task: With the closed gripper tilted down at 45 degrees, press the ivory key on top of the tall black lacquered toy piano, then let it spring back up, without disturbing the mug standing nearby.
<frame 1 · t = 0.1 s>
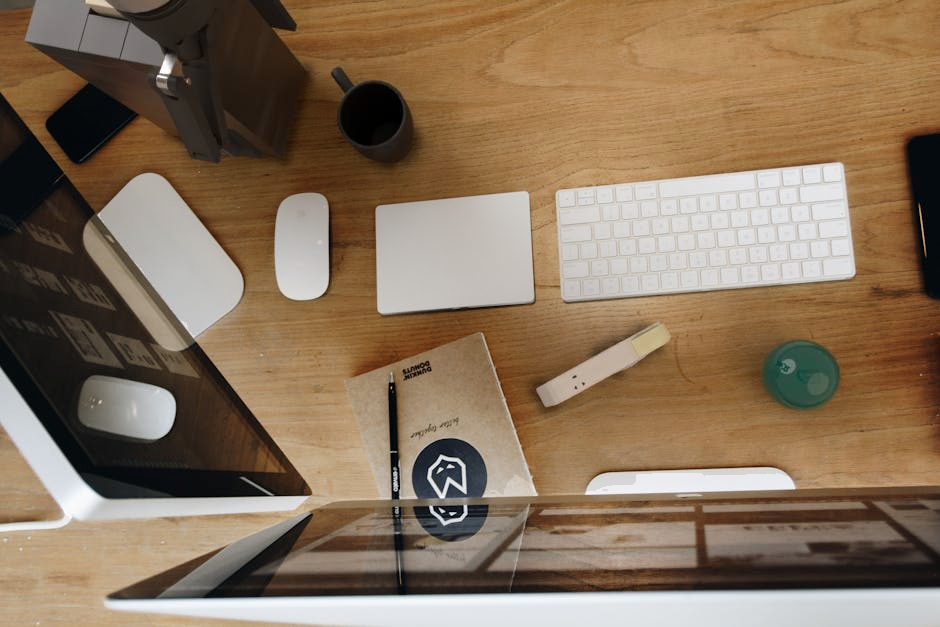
hand: (267, 89, 71), 19 cm above the table, tool pointing down, fingers open, 13 cm apart
piano: (238, 102, 92), on the table
mug: (382, 131, 89), on the table
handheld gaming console: (599, 367, 83), on the table
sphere: (787, 375, 81), on the table
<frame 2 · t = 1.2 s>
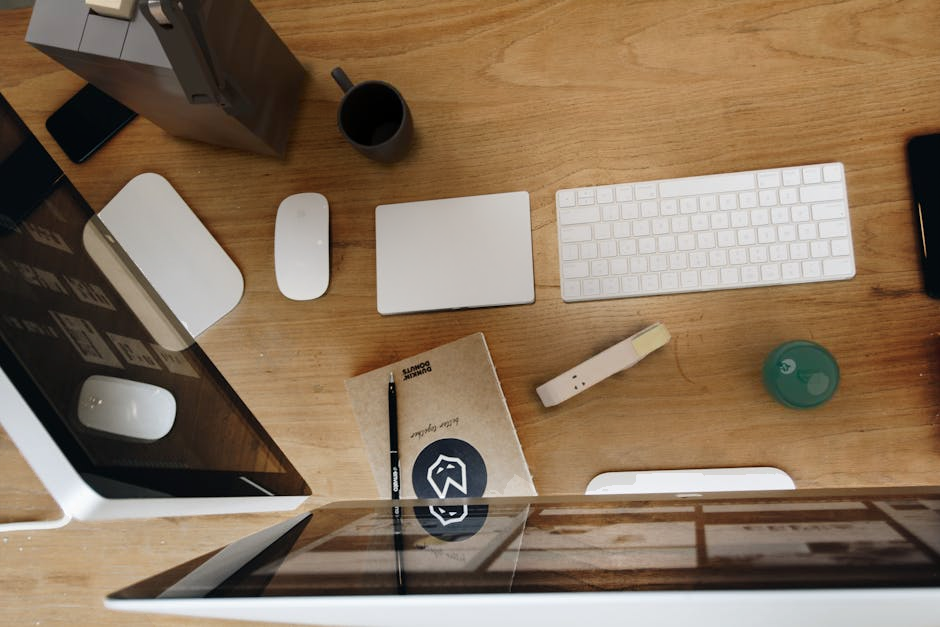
hand: (245, 51, 70), 21 cm above the table, tool pointing down, fingers open, 12 cm apart
nothing on the table moved.
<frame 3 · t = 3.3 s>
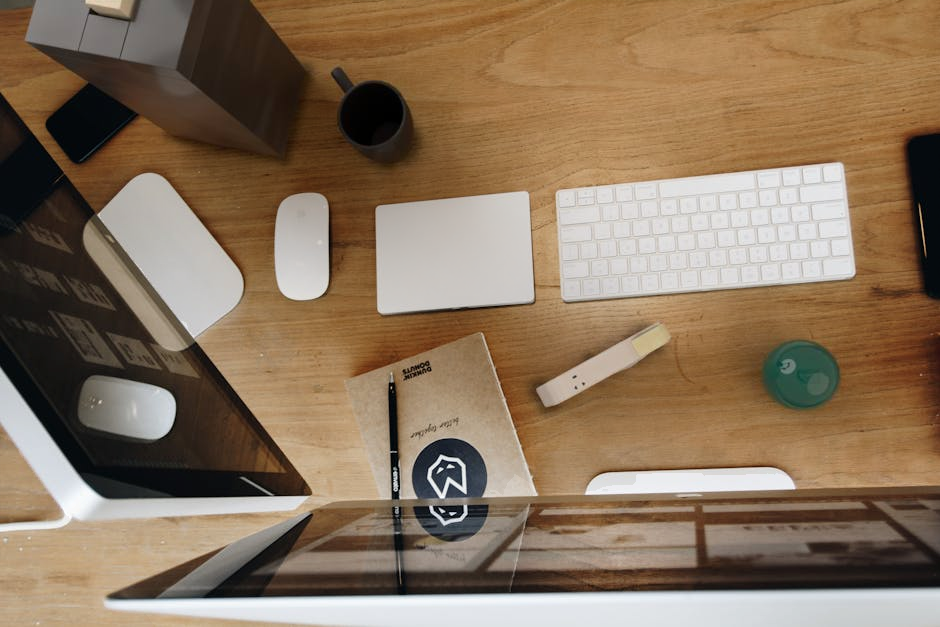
nothing on the table moved.
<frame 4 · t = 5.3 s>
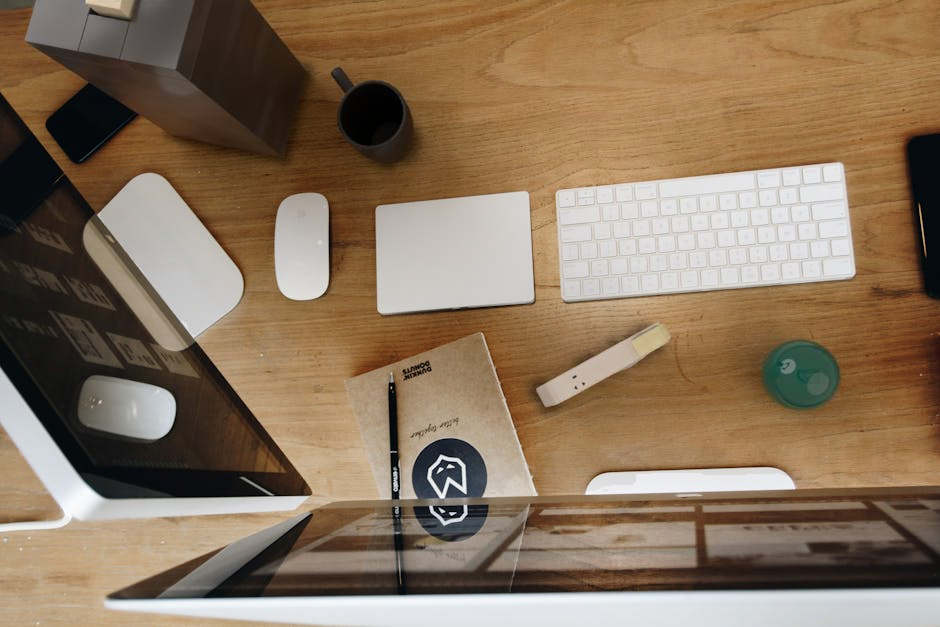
nothing on the table moved.
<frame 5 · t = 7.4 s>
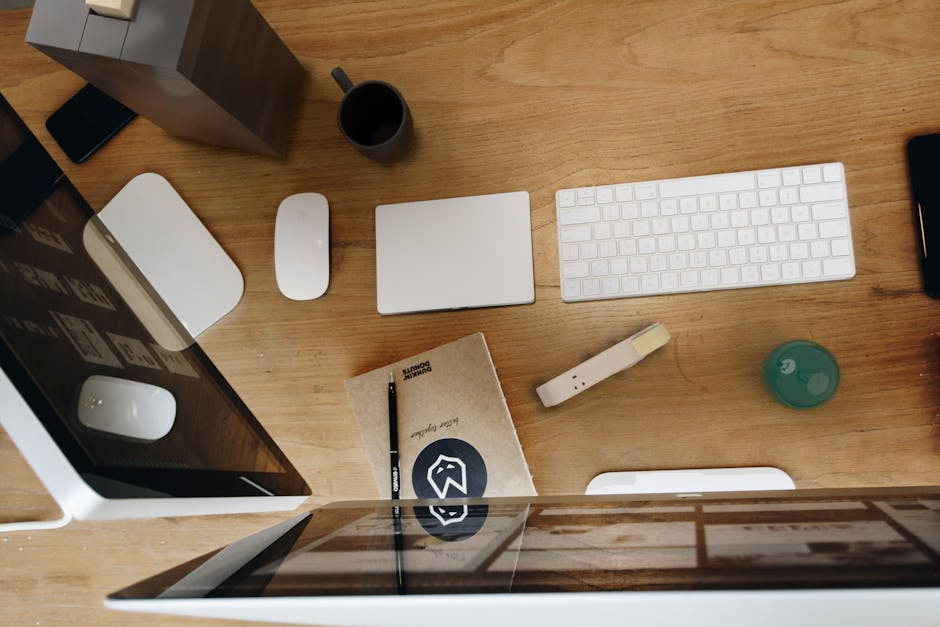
nothing on the table moved.
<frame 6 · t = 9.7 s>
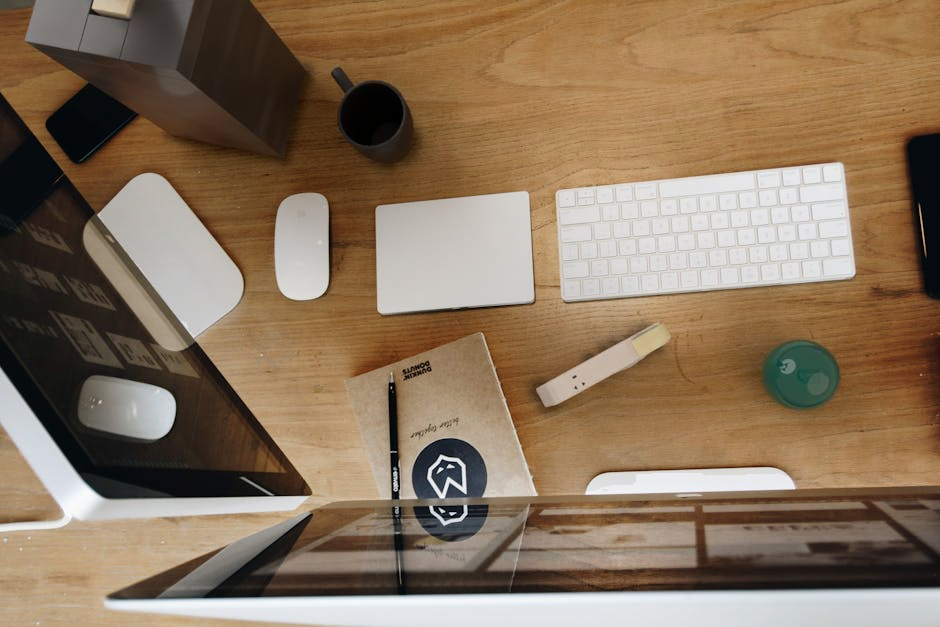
everything else where it was.
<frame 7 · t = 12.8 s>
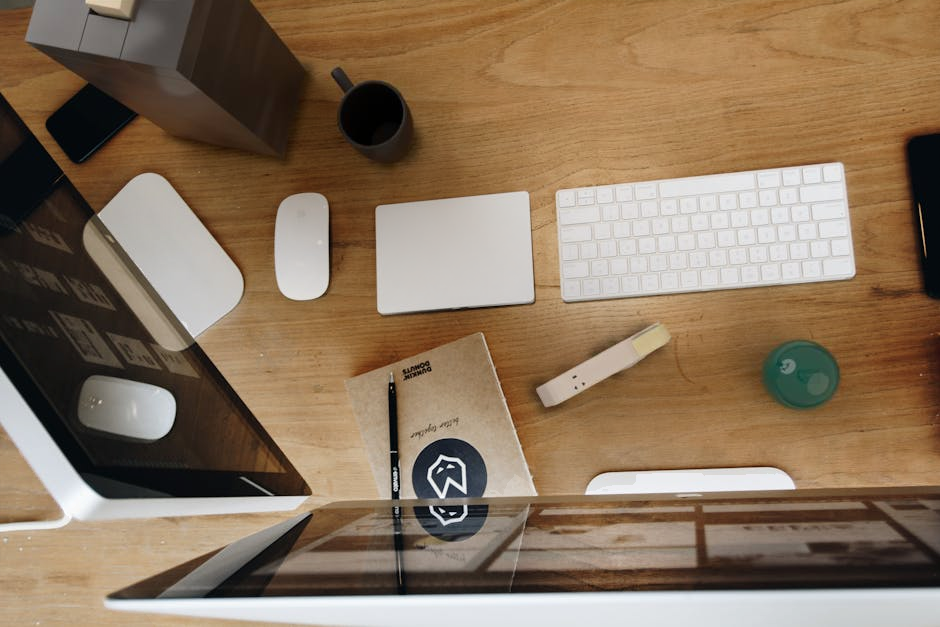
everything else where it was.
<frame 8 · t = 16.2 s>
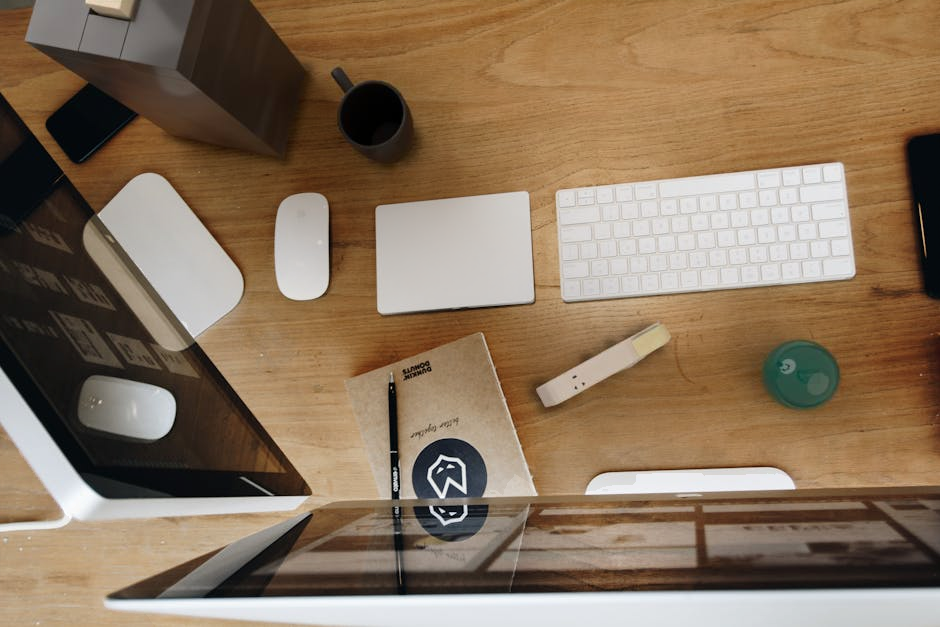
nothing on the table moved.
at the end: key pushed in 1.5 cm at the most during the clip, back to where it started at the end; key slide at 0.1 cm; mug moved 0.2 cm from its start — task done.
